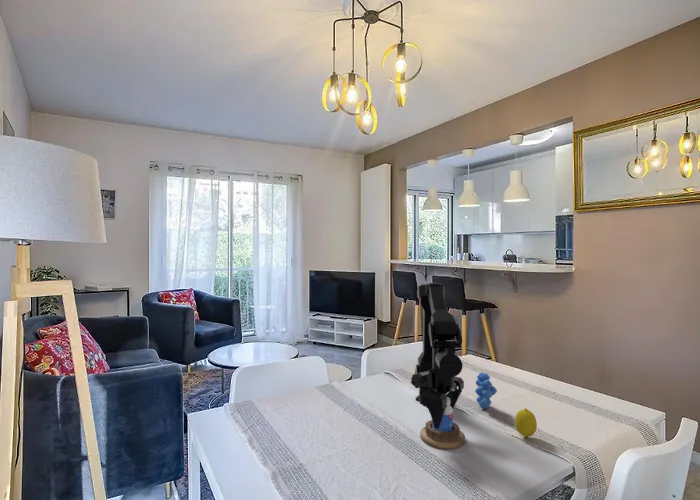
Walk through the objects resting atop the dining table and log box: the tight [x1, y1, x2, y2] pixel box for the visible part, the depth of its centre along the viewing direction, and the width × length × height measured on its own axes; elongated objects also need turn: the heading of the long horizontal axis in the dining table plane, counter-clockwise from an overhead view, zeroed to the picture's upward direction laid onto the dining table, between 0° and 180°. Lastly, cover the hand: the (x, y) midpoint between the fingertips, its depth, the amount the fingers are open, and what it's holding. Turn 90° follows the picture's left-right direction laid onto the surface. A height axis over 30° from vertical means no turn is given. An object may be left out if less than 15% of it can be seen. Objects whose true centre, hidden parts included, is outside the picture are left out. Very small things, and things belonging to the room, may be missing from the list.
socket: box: [419, 419, 466, 450], centre depth 110 cm, size 12×12×3 cm
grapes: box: [474, 372, 498, 410], centre depth 130 cm, size 12×7×12 cm, turn 177°
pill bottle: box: [433, 397, 454, 432], centre depth 110 cm, size 6×5×10 cm
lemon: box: [514, 408, 538, 438], centre depth 110 cm, size 6×6×8 cm
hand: (442, 421), depth 110 cm, fingers open, 9 cm apart
